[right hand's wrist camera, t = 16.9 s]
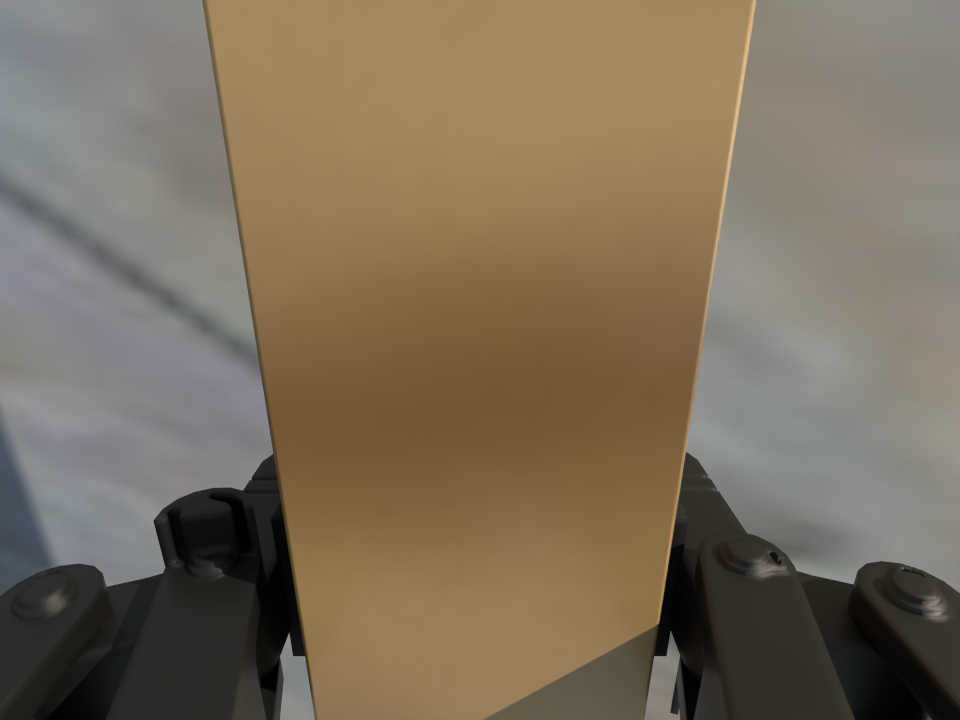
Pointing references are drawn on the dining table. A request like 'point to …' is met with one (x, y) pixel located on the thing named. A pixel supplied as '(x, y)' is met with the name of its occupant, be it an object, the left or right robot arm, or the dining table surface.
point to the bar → (479, 329)
